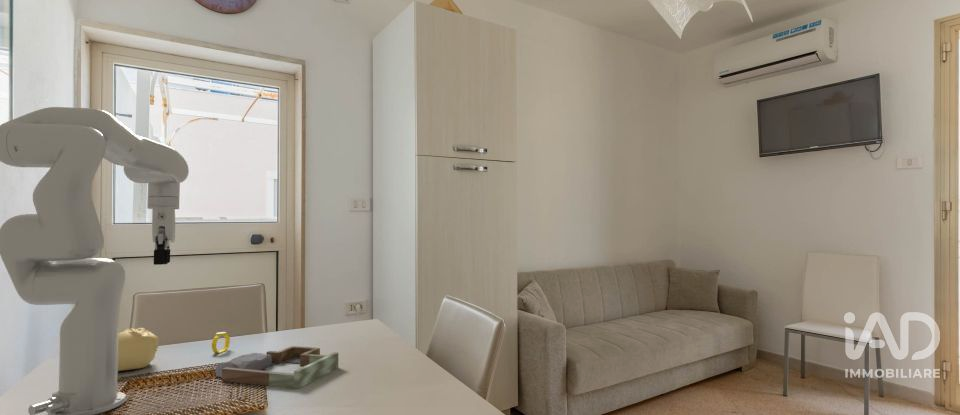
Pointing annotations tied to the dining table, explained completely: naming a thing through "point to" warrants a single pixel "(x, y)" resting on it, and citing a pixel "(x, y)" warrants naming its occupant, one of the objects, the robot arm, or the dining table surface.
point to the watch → (227, 342)
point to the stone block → (246, 362)
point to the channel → (311, 371)
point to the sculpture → (136, 348)
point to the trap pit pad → (292, 360)
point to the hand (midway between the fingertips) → (162, 263)
